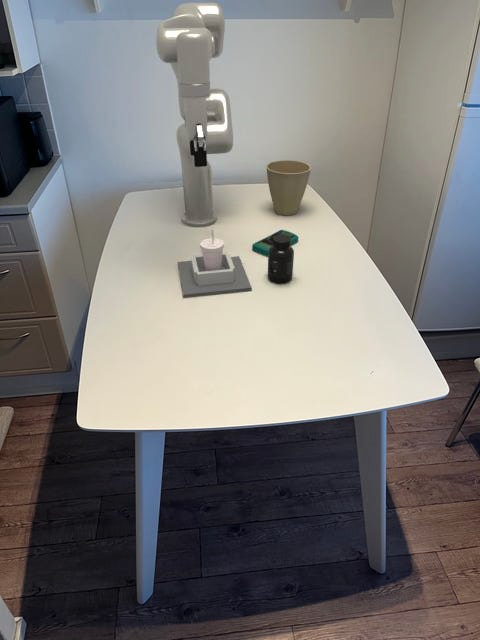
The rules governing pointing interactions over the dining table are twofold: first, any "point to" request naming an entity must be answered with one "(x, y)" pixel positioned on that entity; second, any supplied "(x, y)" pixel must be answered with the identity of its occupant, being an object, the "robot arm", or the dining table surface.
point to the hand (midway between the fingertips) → (198, 160)
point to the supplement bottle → (280, 260)
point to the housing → (213, 277)
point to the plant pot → (287, 184)
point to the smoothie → (212, 252)
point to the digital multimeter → (266, 243)
